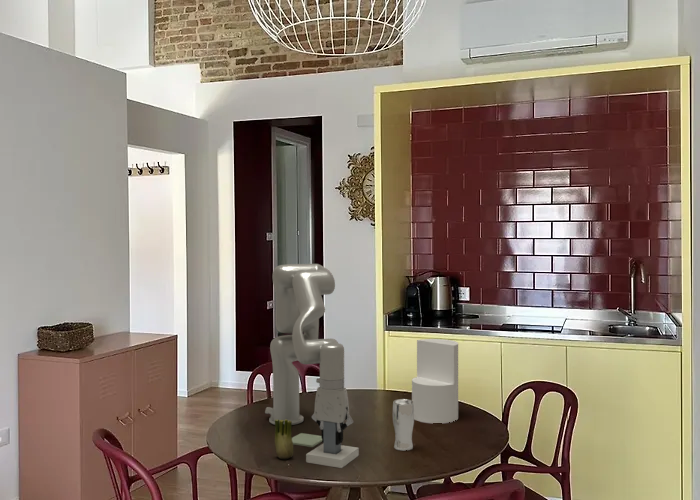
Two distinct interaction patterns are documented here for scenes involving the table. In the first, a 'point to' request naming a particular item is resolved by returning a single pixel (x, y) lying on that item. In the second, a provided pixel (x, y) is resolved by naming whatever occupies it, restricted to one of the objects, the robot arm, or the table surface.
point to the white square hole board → (332, 456)
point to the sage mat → (306, 440)
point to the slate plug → (330, 438)
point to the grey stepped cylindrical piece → (436, 381)
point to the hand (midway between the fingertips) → (332, 441)
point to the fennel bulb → (283, 439)
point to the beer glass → (403, 423)
